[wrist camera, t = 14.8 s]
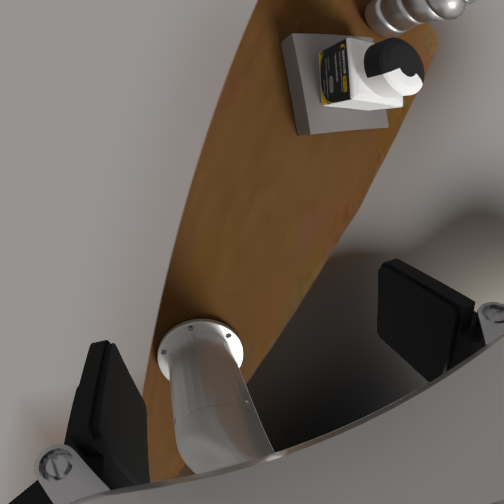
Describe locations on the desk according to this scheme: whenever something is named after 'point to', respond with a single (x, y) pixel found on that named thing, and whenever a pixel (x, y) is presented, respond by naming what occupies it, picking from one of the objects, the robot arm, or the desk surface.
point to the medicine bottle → (369, 74)
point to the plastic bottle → (409, 14)
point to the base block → (309, 89)
